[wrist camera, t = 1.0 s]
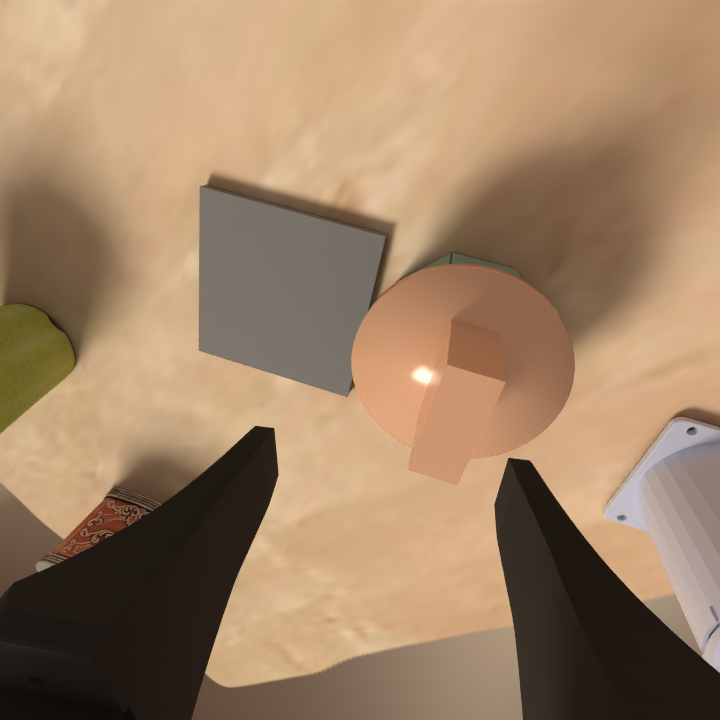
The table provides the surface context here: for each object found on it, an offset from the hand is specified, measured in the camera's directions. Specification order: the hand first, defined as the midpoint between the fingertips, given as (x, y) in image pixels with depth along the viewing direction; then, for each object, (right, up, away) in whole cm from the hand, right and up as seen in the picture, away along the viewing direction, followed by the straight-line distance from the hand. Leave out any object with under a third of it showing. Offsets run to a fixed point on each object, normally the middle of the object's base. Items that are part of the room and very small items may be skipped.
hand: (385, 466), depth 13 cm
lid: (+4, +3, +6) cm, 8 cm away
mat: (-5, +7, +11) cm, 14 cm away
